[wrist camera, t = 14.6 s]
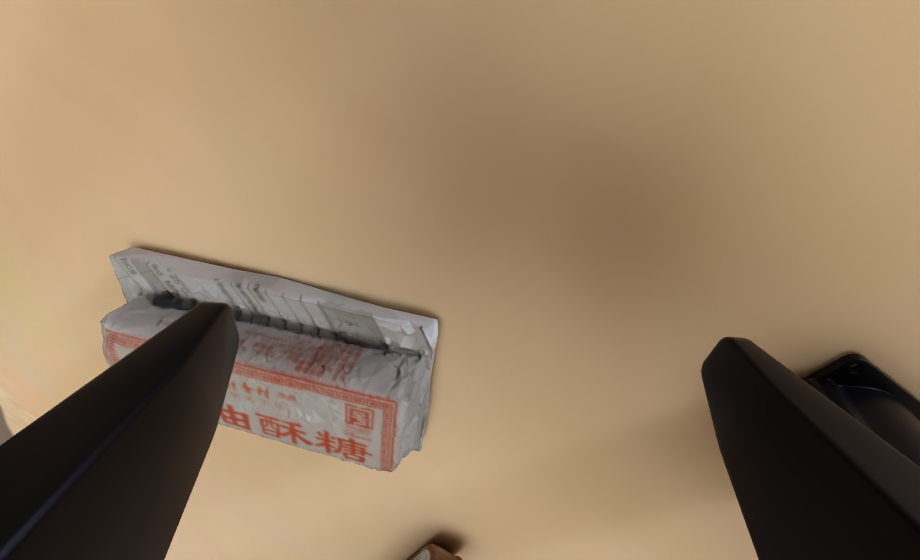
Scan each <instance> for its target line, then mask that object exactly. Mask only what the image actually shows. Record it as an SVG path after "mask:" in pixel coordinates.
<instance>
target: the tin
mask: <svg viewBox="0 0 920 560" xmlns="http://www.w3.org/2000/svg"><path fill="white" fill-rule="evenodd" d="M409 560H462V559H461V558H460V557H459V556H454V555H453V554H451V553H449V552H448V551H446V550H444V549H443V548H441V547H439V546H437V545H435V544H427V545H426V546H424V547H423V548H422V549H420V550H419V551H418V552H417V553H416V554H415V555H413V556H412V557H411V558H410V559H409Z"/></svg>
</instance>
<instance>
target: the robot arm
mask: <svg viewBox="0 0 920 560" xmlns="http://www.w3.org/2000/svg"><path fill="white" fill-rule="evenodd" d="M238 348H239V333H238V329H237V326H236V323H235V319H234V316H233V313H232V310H231V307H230V306H229V305H228V304H226V303H220V302H202V303H199V304H198V305H196V306H195V307H193V308H192V309H191V310H189V311H188V312H186V313H185V314H184V315H182V316H181V317H179V318H178V319H177V320H175V321H174V322H173V323H171V324H170V325H168V326H167V327H166V328H164V329H163V330H161V331H160V332H159V333H157V334H156V335H154V336H153V337H152V338H150V339H149V340H147V341H146V342H145V343H143V344H142V345H140V346H139V347H138V348H136V349H135V350H133V351H132V352H131V353H129V354H128V355H126V356H125V357H124V358H122V359H121V360H119V361H118V362H117V363H115V364H114V365H112V366H111V367H110V368H108V369H107V370H105V371H104V372H103V373H101V374H100V375H98V376H97V377H96V378H94V379H93V380H91V381H90V382H89V383H87V384H86V385H84V386H83V387H82V388H80V389H79V390H77V391H76V392H75V393H73V394H72V395H70V396H69V397H68V398H66V399H65V400H63V401H62V402H61V403H59V404H58V405H56V406H55V407H54V408H52V409H51V410H49V411H48V412H47V413H45V414H44V415H42V416H41V417H40V418H38V419H37V420H35V421H34V422H33V423H31V424H30V425H28V426H27V427H26V428H24V429H23V430H21V431H20V432H19V433H17V434H16V435H14V436H13V437H12V438H10V439H9V440H7V441H6V442H5V443H3V444H2V445H1V446H0V560H164V559H165V556H166V554H167V551H168V549H169V546H170V544H171V541H172V539H173V536H174V534H175V531H176V529H177V526H178V524H179V521H180V519H181V517H182V514H183V512H184V509H185V507H186V504H187V502H188V499H189V497H190V494H191V492H192V489H193V487H194V484H195V482H196V479H197V477H198V474H199V472H200V469H201V467H202V464H203V462H204V459H205V457H206V454H207V452H208V449H209V447H210V444H211V442H212V439H213V436H214V434H215V431H216V428H217V425H218V421H219V418H220V415H221V411H222V407H223V404H224V400H225V396H226V392H227V389H228V385H229V381H230V378H231V374H232V370H233V367H234V363H235V359H236V355H237V352H238ZM854 364H856V365H855V366H852V367H850V366H851V365H854ZM701 374H702V379H703V383H704V387H705V392H706V396H707V400H708V404H709V408H710V412H711V416H712V420H713V425H714V429H715V433H716V437H717V441H718V444H719V448H720V451H721V454H722V457H723V460H724V463H725V466H726V469H727V472H728V474H729V477H730V480H731V483H732V486H733V489H734V491H735V494H736V497H737V500H738V503H739V505H740V508H741V511H742V514H743V517H744V520H745V522H746V525H747V528H748V531H749V534H750V536H751V539H752V542H753V545H754V548H755V550H756V553H757V556H758V559H759V560H920V400H919V399H918V398H916V397H915V396H914V395H912V394H911V393H910V392H909V391H907V390H906V389H905V388H903V387H902V386H901V385H900V384H898V383H897V382H896V381H894V380H893V379H892V378H891V377H889V376H888V375H887V374H885V373H884V372H883V371H882V370H880V369H879V368H878V367H876V366H875V365H874V364H873V363H871V362H870V361H869V360H867V359H866V358H865V357H864V356H862V355H860V354H855V353H853V354H847V355H845V356H843V357H841V358H839V359H837V360H836V361H834V362H832V363H830V364H829V365H827V366H825V367H823V368H822V369H820V370H818V371H816V372H815V373H813V374H811V375H809V376H808V377H806V378H804V379H801V378H800V377H798V376H797V375H796V374H794V373H793V372H792V371H790V370H789V369H788V368H786V367H785V366H784V365H782V364H781V363H780V362H778V361H777V360H776V359H774V358H773V357H772V356H770V355H769V354H768V353H766V352H765V351H764V350H762V349H761V348H760V347H758V346H757V345H756V344H754V343H753V342H752V341H750V340H748V339H745V338H737V337H725V338H723V339H721V340H720V341H719V342H718V344H717V345H716V346H715V348H714V349H713V350H712V352H711V353H710V354H709V356H708V357H707V358H706V360H705V361H704V362H703V365H702V369H701Z"/></svg>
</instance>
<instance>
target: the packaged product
mask: <svg viewBox="0 0 920 560" xmlns="http://www.w3.org/2000/svg"><path fill="white" fill-rule="evenodd" d="M109 257H110V260H111V263H112V266H113V269H114V272H115V275H116V277H117V279H118V281H119V283H120V285H121V288H122V291H123V294H124V297H125V299H126V301H127V304H125V305H123V306H121V307H120V308H118V309H116V310H114V311H112V312H110V313H109V314H107V315H106V316H105V317H104V318H103V319H102V320H101V321H100V323H101V324H102V334H103V338H104V339H103V352H104V356H105V359H106V361H107V363H108V364H109V365H110V367H111V366H112V365H114V364H115V363H117V362H118V361H119V360H121V359H122V358H124V357H125V356H126V355H128V354H129V353H131V352H132V351H133V350H135V349H136V348H138V347H139V346H140V345H142V344H143V343H145V342H146V341H147V340H149V339H150V338H152V337H153V336H154V335H156V334H157V333H159V332H160V331H161V330H163V329H164V328H166V327H167V326H168V325H170V324H171V323H173V322H174V321H175V320H177V319H178V318H179V317H181V316H182V315H184V314H185V313H186V312H188V311H189V310H191V309H192V308H193V307H195V306H196V305H198V304H199V303H202V302H220V303H226V304H228V305H229V306H230V307H231V310H232V313H233V316H234V319H235V323H236V326H237V329H238V333H239V348H238V352H237V355H236V359H235V363H234V367H233V370H232V374H231V378H230V381H229V385H228V389H227V392H226V396H225V400H224V404H223V407H222V411H221V415H220V418H219V421H218V424H221V425H225V426H227V427H232V428H235V429H239V430H243V431H246V432H249V433H252V434H256V435H259V436H261V437H265V438H269V439H274V440H278V441H281V442H283V443H286V444H289V445H293V446H296V447H300V448H303V449H307V450H309V451H313V452H318V453H322V454H325V455H329V456H332V457H335V458H339V459H341V460H343V461H348V462H354V463H356V464H359V465H363V466H366V467H368V468H370V469H376V470H377V471H389V472H392V471H393V470H395V469H396V468H397V466H398V465H399V463H400V461H401V460H402V458H404V457H406V456H407V455H408V454H409V453H410V452H411V451H413V450H416V451H420V450H421V448H422V442H423V437H424V431H425V425H426V420H427V414H428V407H429V392H430V378H431V373H432V367H433V361H434V355H435V349H436V343H437V338H438V320H437V319H433V318H429V317H424V316H420V315H415V314H411V313H406V312H402V311H397V310H393V309H389V308H385V307H381V306H377V305H374V304H370V303H367V302H363V301H360V300H356V299H353V298H349V297H345V296H342V295H338V294H335V293H331V292H328V291H324V290H321V289H317V288H314V287H311V286H307V285H304V284H301V283H297V282H294V281H291V280H288V279H284V278H281V277H276V276H270V275H264V274H259V273H253V272H247V271H241V270H236V269H230V268H226V267H221V266H217V265H212V264H208V263H203V262H199V261H194V260H190V259H185V258H181V257H176V256H172V255H167V254H163V253H158V252H154V251H149V250H145V249H140V248H136V247H132V248H129V249H126V250H123V251H120V252H117V253H115V254H112V255H109Z"/></svg>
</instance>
